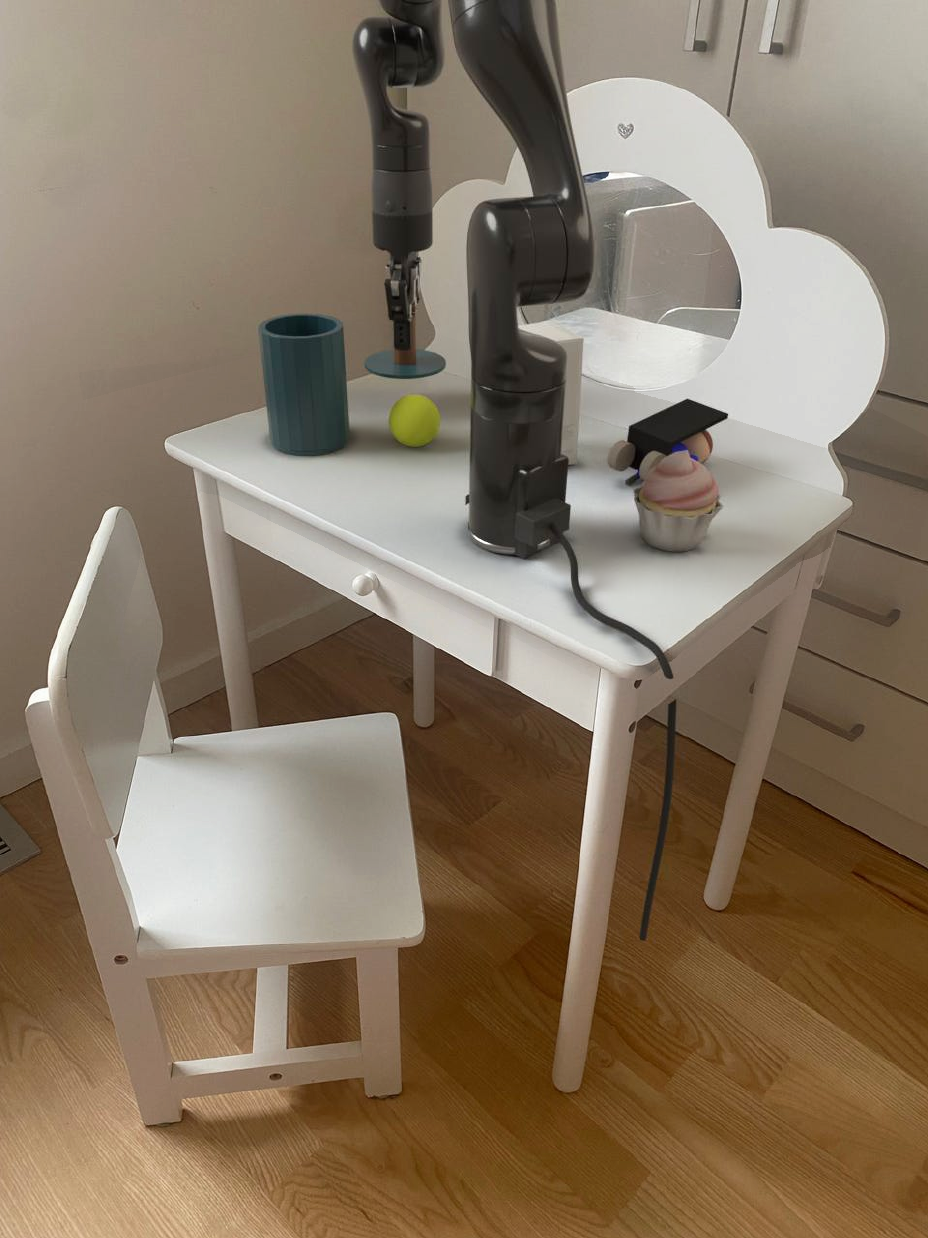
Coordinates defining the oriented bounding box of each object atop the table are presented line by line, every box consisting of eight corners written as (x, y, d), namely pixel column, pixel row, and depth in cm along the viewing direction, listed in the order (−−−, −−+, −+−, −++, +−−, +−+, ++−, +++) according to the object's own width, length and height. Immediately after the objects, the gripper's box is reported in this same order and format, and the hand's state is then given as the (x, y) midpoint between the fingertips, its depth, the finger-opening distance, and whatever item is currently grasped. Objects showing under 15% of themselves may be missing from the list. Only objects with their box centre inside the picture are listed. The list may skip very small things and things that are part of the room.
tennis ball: (450, 445, 122) (450, 396, 118) (412, 459, 118) (411, 409, 114) (417, 430, 125) (416, 383, 122) (379, 443, 122) (377, 395, 118)
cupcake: (730, 557, 98) (747, 467, 93) (642, 562, 97) (654, 472, 92) (699, 515, 106) (713, 430, 100) (617, 520, 105) (626, 434, 99)
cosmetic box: (577, 465, 117) (588, 338, 108) (528, 473, 115) (535, 344, 106) (547, 440, 123) (555, 318, 115) (500, 447, 121) (504, 323, 113)
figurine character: (649, 514, 109) (725, 463, 117) (653, 455, 105) (731, 406, 112) (603, 495, 113) (679, 447, 121) (604, 437, 109) (683, 391, 116)
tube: (365, 441, 122) (360, 326, 114) (300, 462, 117) (290, 343, 108) (319, 419, 128) (310, 308, 120) (255, 438, 123) (242, 324, 114)
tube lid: (462, 370, 130) (463, 317, 126) (400, 389, 124) (399, 334, 120) (409, 350, 137) (408, 300, 133) (348, 368, 130) (345, 315, 126)
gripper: (423, 219, 112) (424, 363, 122) (439, 197, 124) (440, 330, 134) (360, 217, 113) (367, 360, 123) (382, 195, 125) (387, 327, 134)
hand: (405, 344), depth 128 cm, fingers closed on tube lid, 3 cm apart
